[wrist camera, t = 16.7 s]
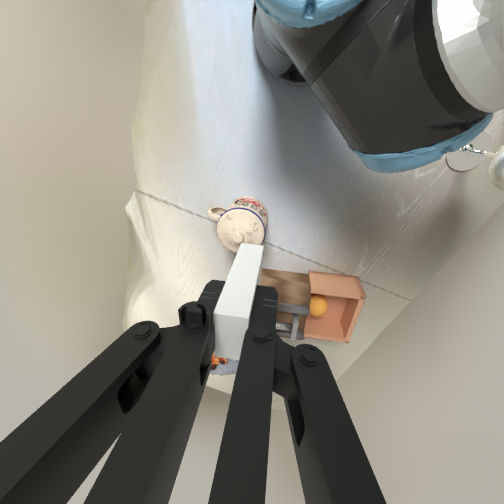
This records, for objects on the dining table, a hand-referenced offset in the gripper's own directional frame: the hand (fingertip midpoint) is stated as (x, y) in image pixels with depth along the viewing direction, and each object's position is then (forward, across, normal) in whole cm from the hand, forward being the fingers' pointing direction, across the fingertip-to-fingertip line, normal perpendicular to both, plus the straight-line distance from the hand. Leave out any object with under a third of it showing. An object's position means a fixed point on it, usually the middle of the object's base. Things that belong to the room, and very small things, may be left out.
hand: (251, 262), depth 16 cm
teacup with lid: (+35, -6, -9) cm, 36 cm away
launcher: (+34, +3, -29) cm, 45 cm away
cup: (+34, +16, -29) cm, 47 cm away
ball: (+31, +13, -29) cm, 44 cm away
